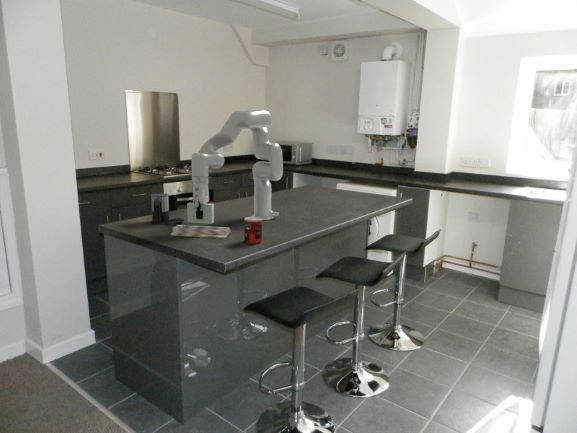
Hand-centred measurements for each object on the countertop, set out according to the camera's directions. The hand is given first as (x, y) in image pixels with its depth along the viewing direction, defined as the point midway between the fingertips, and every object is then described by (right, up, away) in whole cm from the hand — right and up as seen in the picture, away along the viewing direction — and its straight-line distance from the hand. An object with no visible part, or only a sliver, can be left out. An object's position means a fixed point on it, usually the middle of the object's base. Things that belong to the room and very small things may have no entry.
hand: (200, 217), depth 199 cm
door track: (0, -8, +2) cm, 8 cm away
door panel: (0, -2, 0) cm, 2 cm away
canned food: (+26, -11, -10) cm, 30 cm away
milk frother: (-22, -3, +21) cm, 30 cm away
